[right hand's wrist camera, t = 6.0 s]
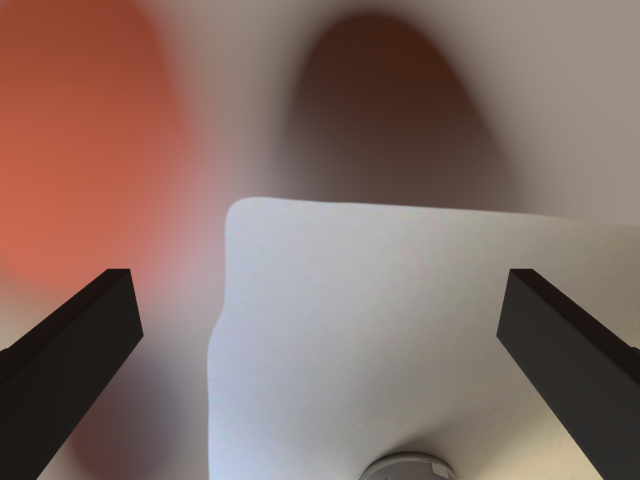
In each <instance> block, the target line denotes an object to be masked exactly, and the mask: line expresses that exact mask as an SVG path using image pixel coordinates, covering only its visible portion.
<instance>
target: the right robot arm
mask: <svg viewBox="0 0 640 480" xmlns="http://www.w3.org/2000/svg"><path fill="white" fill-rule="evenodd" d="M496 336H497V337H498V339H499V340H500V341H501V343H502V344H503V345H504V347H505V348H506V349H507V351H508V352H509V354H510V355H511V356H512V358H513V359H514V360H515V362H516V363H517V364H518V366H519V367H520V368H521V370H522V371H523V372H524V374H525V375H526V376H527V378H528V379H529V380H530V382H531V383H532V384H533V386H534V387H535V388H536V390H537V391H538V392H539V394H540V395H541V396H542V398H543V399H544V400H545V402H546V403H547V404H548V406H549V407H550V408H551V410H552V411H553V412H554V414H555V415H556V416H557V418H558V419H559V420H560V422H561V423H562V424H563V426H564V427H565V429H566V430H567V431H568V433H569V434H570V435H571V437H572V438H573V439H574V441H575V442H576V443H577V445H578V446H579V447H580V449H581V450H582V451H583V453H584V454H585V455H586V457H587V458H588V459H589V461H590V462H591V463H592V465H593V466H594V467H595V469H596V470H597V471H598V473H599V474H600V475H601V477H602V478H603V479H604V480H640V350H639V349H637V348H636V347H630V346H629V345H627V344H626V343H625V342H624V341H622V340H621V339H620V338H619V337H617V336H616V335H615V334H613V333H612V332H611V331H610V330H608V329H607V328H606V327H605V326H603V325H602V324H601V323H600V322H598V321H597V320H596V319H595V318H593V317H592V316H591V315H590V314H588V313H587V312H586V311H585V310H583V309H582V308H581V307H580V306H578V305H577V304H576V303H575V302H573V301H572V300H571V299H570V298H568V297H567V296H566V295H565V294H563V293H562V292H561V291H560V290H558V289H557V288H556V287H554V286H553V285H552V284H551V283H549V282H548V281H547V280H546V279H544V278H543V277H542V276H541V275H539V274H538V273H537V272H536V271H534V270H533V269H510V272H509V277H508V281H507V286H506V291H505V296H504V301H503V306H502V311H501V316H500V321H499V325H498V330H497V335H496ZM142 337H143V330H142V326H141V321H140V316H139V311H138V306H137V301H136V296H135V291H134V286H133V281H132V277H131V272H130V269H107V270H106V271H104V272H103V273H102V274H101V275H99V276H98V277H97V278H96V279H94V280H93V281H92V282H91V283H89V284H88V285H87V286H86V287H84V288H83V289H82V290H81V291H79V292H78V293H77V294H75V295H74V296H73V297H72V298H70V299H69V300H68V301H67V302H66V303H64V304H63V305H62V306H60V307H59V308H58V309H57V310H55V311H54V312H53V313H52V314H50V315H49V316H48V317H47V318H45V319H44V320H43V321H42V322H40V323H39V324H38V325H37V326H35V327H34V328H33V329H32V330H30V331H29V332H28V333H27V334H25V335H24V336H23V337H22V338H20V339H19V340H18V341H17V342H15V343H14V344H13V345H11V346H10V347H9V348H5V349H4V350H2V351H0V480H36V479H37V478H38V477H39V475H40V474H41V473H42V471H43V470H44V469H45V467H46V466H47V465H48V463H49V462H50V461H51V459H52V458H53V457H54V455H55V454H56V453H57V451H58V450H59V449H60V447H61V446H62V445H63V443H64V442H65V441H66V439H67V438H68V437H69V435H70V434H71V433H72V431H73V430H74V429H75V427H76V426H77V424H78V423H79V422H80V420H81V419H82V418H83V416H84V415H85V414H86V412H87V411H88V410H89V408H90V407H91V406H92V404H93V403H94V402H95V400H96V399H97V398H98V396H99V395H100V394H101V392H102V391H103V390H104V388H105V387H106V386H107V384H108V383H109V382H110V380H111V379H112V378H113V376H114V375H115V374H116V372H117V371H118V370H119V368H120V367H121V365H122V364H123V363H124V362H125V360H126V359H127V358H128V356H129V355H130V354H131V352H132V351H133V349H134V348H135V347H136V345H137V344H138V343H139V341H140V340H141V339H142ZM359 480H456V477H455V474H454V472H453V471H452V469H451V468H450V467H449V466H448V465H447V464H446V463H445V462H443V461H442V460H440V459H438V458H436V457H433V456H430V455H427V454H422V453H400V454H395V455H391V456H388V457H385V458H383V459H381V460H379V461H377V462H375V463H374V464H372V465H371V466H370V467H369V468H367V469H366V470H365V472H364V473H363V474H362V476H361V477H360V479H359Z"/></svg>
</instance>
